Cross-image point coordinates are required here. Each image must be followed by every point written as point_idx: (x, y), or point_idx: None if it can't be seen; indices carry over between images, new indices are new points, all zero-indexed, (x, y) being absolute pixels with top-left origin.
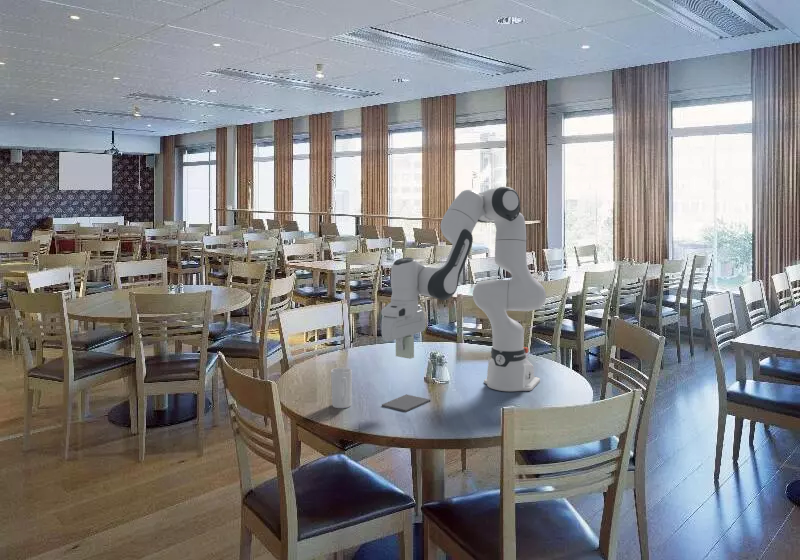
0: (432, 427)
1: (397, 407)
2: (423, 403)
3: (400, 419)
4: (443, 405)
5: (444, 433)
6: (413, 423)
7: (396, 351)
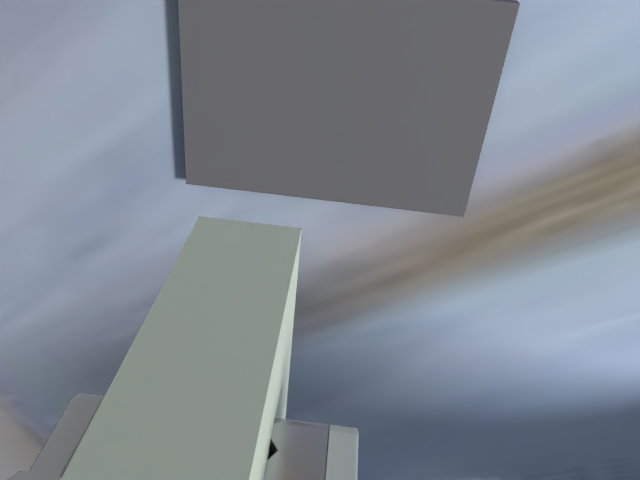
0: (89, 366)
1: (194, 110)
2: (380, 203)
3: (64, 207)
4: (415, 299)
5: None
6: (67, 285)
7: (175, 280)
